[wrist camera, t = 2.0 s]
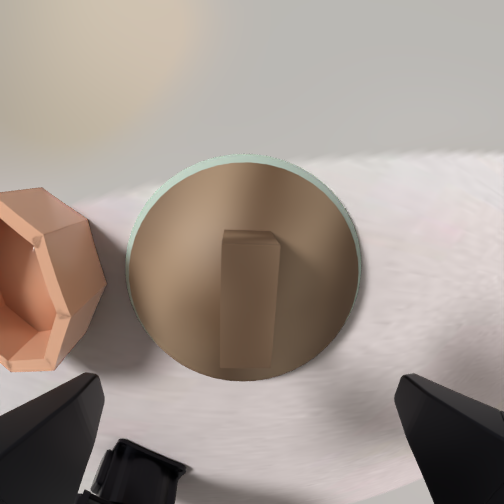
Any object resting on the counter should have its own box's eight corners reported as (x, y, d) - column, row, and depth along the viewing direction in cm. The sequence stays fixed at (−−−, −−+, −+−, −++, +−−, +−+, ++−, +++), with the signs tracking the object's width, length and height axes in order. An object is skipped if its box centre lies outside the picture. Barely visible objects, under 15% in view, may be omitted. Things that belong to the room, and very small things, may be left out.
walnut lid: (363, 173, 16) (400, 173, 12) (336, 371, 19) (356, 411, 15) (131, 162, 16) (100, 158, 11) (143, 368, 18) (126, 409, 14)
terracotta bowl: (126, 244, 17) (90, 268, 12) (76, 359, 19) (46, 399, 14) (15, 167, 15) (-34, 170, 10) (-16, 285, 17) (-55, 308, 12)
